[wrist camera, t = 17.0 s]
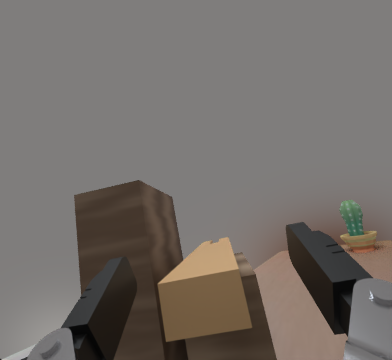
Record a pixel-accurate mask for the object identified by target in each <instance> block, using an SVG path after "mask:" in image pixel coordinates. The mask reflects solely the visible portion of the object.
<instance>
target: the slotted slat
mask: <svg viewBox="0 0 392 360" xmlns="http://www.w3.org/2000/svg"><path fill="white" fill-rule="evenodd" d="M158 291H159V298H160V304H161V311H162V318H163V325H164V331H165V338H166V342H168V341H174V340H181V339H187V338H193V337H199V336H205V335H211V334H217V333H223V332H229V331H236V330H242V329H248V328H252V324H251V320H250V315H249V311H248V307H247V302H246V298H245V294H244V289H243V285H242V281H241V276H240V272H239V268H238V265H237V262H236V259H235V256H234V253H233V250H232V247H231V244H230V241H229V238H228V237H226V238H222V239H219V242H217V243H213V242H212V240H211V241H207V242H203V243H202V244H201V245H200V246H199V247H198V248H197V249H196V250H195V251H193V252H192V253H191V254H190V255H189V256H188V257H187V258H186V259H184V260H183V261H182V262H181V263H180V264H179V265H178V266H177V267H176V268H175V269H173V270H172V271H171V272H170V273H169V274H168V275H167V276H166V277H165V278H164V279H163V280H161V281H160V282H159V283H158Z"/></svg>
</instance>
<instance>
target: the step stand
mask: <svg viewBox="0 0 392 360" xmlns="http://www.w3.org/2000/svg"><path fill="white" fill-rule="evenodd" d="M74 198H75V213H76V227H77V241H78V255H79V268H80V283H81V295H82V294H83V292H84V291H85V289H86V288H87V286H88V285H89V283H90V281H91V280H92V279H93V278H94V277H95V276H96V275H97V274H98V273H99V272H100V271H102V270H103V269H104V267H105V266H106V264H107V262H108V261H109V260H110V259H113V258H119V257H124V256H125V257H127V259H128V261H129V263H130V266H131V268H132V271H133V273H134V276H135V278H136V281H137V293H136V296H135V299H134V302H133V305H132V308H131V311H130V313H129V316H128V319H127V322H126V325H125V328H124V331H123V334H122V336H121V339H120V342H119V345H118V348H117V351H116V354H115V357H114V360H277V359H276V355H275V351H274V347H273V343H272V339H271V334H270V330H269V326H268V322H267V318H266V314H265V310H264V306H263V302H262V298H261V294H260V290H259V286H258V282H257V278H256V274H255V272H254V271H253V269H252V268H251V266H250V265H249V263H248V261H247V260H246V258H245V256H244V255H243V253H237V254H234V256H235V259H236V262H237V265H238V268H239V272H240V276H241V281H242V285H243V289H244V294H245V298H246V302H247V307H248V311H249V315H250V320H251V324H252V328H248V329H242V330H236V331H229V332H223V333H217V334H211V335H205V336H199V337H193V338H187V339H181V340H174V341H168V342H166V338H165V331H164V325H163V318H162V311H161V304H160V298H159V291H158V283H159V282H160V281H161V280H163V279H164V278H165V277H166V276H167V275H168V274H169V273H170V272H171V271H172V270H173V269H175V268H176V267H177V266H178V265H179V264H180V263H181V262H182V261H183V256H182V250H181V245H180V239H179V233H178V228H177V222H176V216H175V211H174V205H173V199H172V197H171V196H169V195H167V194H165V193H163V192H161V191H159V190H157V189H155V188H153V187H151V186H149V185H147V184H145V183H143V182H141V181H139V180H137V181H133V182H129V183H124V184H121V185H116V186H112V187H107V188H103V189H99V190H94V191H90V192H86V193H81V194H78V195H74Z"/></svg>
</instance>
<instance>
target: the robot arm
mask: <svg viewBox="0 0 392 360" xmlns="http://www.w3.org/2000/svg"><path fill="white" fill-rule="evenodd" d="M286 234H287V242H288V251H289V256H290V259H291V262H292V264H293V266H294V268H295V269H296V271H297V273H298V274H299V276H300V278H301V279H302V281H303V283H304V284H305V286H306V288H307V289H308V291H309V293H310V294H311V296H312V298H313V299H314V301H315V303H316V304H317V306H318V308H319V309H320V311H321V313H322V314H323V316H324V318H325V319H326V321H327V323H328V324H329V326H330V328H331V329H332V331H333V333H334V334H335V335H336V334H343V333H346V335H347V336H348V341H346V344H345V351H344V359H343V360H392V283H390V282H388V281H384V280H381V279H374V278H373V277H372V276H371V275H370V274H369V273H368V272H366V271H365V270H364V269H363V268H362V267H361V266H360V265H359V264H358V263H357V262H356V261H355V260H354V259H353V258H352V257H351V256H350V255H349V254H348V253H347V252H345V251H344V249H343V248H342V247H341V246H340V245H338V244H337V243H336V242H335V241H334V240H333V239H332V238H331V237H330V236H329V235H327V234H324V233H323V232H321V231H313V232H312V231H311V229H310V228H308V226H307V225H306V224H305V223H304V222H300V223H295V224H290V225H286ZM136 293H137V281H136V278H135V276H134V273H133V271H132V268H131V266H130V263H129V261H128V259H127V257H125V256H124V257H119V258H113V259H110V260H109V261H108V262H107V264H106V266H105V267H104V269H103V270H102V271H100V272H99V273H98V274H97V275H96V276H95V277H94V278H93V279H92V280H91V281H90V283H89V285H88V286H87V288H86V289H85V291H84V292H83V294H82V295H81V297H80V299H79V300H78V302H77V303H76V305H75V306H74V308H73V310H72V311H71V313H70V314H69V316H68V317H67V319H66V321H65V322H64V324H63V325H62V327H61V328H60V329H57V330H55V331H53V332H51V333H50V334H48V335H47V336H45V337H44V338H43V339H42V340H41V341H40V342H39V343H38V344H37V345H36V346H35V347H34V348H33V349H32V351H31V352H30V354H29V356H28V357H26V358H24V359H21V360H114V357H115V354H116V351H117V348H118V345H119V342H120V339H121V336H122V334H123V331H124V328H125V325H126V322H127V319H128V316H129V313H130V311H131V308H132V305H133V302H134V299H135V296H136ZM0 360H1V359H0Z"/></svg>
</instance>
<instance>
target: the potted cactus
mask: <svg viewBox="0 0 392 360" xmlns="http://www.w3.org/2000/svg"><path fill="white" fill-rule="evenodd" d="M340 213H341V215H342V218H343V219H344V221H345V222H346V225H347V229H348V234H344V235H341V236H340V237H341V239H342V240H344V241H345V242H346V244H347V245H348V246H349V247H350V248H352V249H353V252H369V251H373V250H375V249H374V248H373V247H374V245H375V242H376V235H377V232H376V231H363V226H362V216H363V215H362V211H361V207H360V206H359V205H358V204H356V203H355V202H354V201H353V200H349V201H343V202H342V204H341V206H340Z"/></svg>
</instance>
